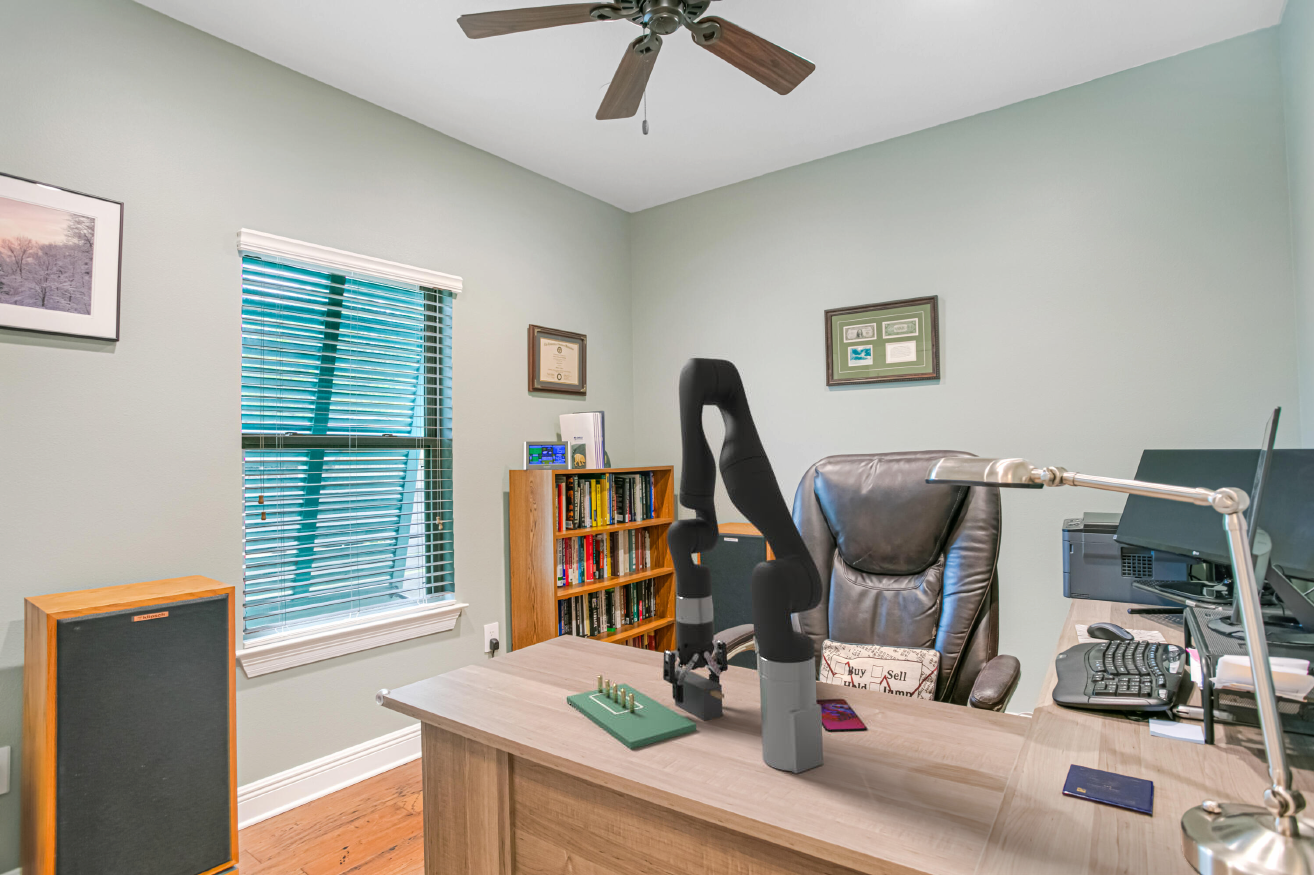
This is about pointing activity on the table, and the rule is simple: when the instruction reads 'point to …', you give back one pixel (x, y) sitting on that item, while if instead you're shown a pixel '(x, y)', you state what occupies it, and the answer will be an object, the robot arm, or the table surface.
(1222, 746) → the table surface
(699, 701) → the plug housing
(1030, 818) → the table surface
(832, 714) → the smartphone
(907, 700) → the table surface
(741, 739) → the table surface
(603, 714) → the header board
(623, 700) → the header pins
